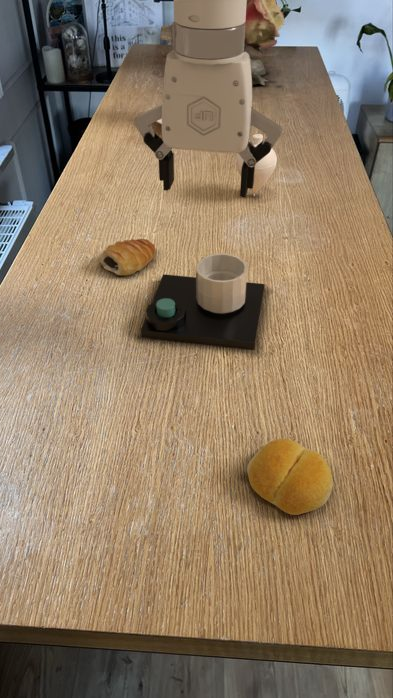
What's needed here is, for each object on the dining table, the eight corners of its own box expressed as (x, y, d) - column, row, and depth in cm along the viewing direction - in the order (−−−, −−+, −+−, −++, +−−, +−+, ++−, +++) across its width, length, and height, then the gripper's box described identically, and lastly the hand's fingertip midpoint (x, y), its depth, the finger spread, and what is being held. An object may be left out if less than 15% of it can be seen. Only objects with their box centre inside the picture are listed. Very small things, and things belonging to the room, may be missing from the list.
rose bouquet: (283, 87, 162) (293, -43, 142) (177, 88, 162) (173, -41, 142) (272, 59, 181) (280, -58, 162) (178, 61, 181) (174, -56, 161)
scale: (141, 337, 83) (139, 321, 81) (163, 281, 93) (162, 265, 91) (254, 350, 81) (255, 333, 79) (264, 291, 91) (265, 275, 89)
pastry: (138, 243, 102) (136, 224, 99) (166, 258, 98) (165, 238, 96) (96, 266, 97) (94, 246, 94) (124, 282, 93) (122, 262, 91)
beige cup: (192, 313, 85) (191, 279, 81) (201, 284, 90) (201, 251, 86) (242, 318, 84) (243, 284, 80) (248, 289, 89) (249, 255, 85)
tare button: (154, 317, 82) (154, 308, 81) (159, 306, 84) (158, 297, 83) (173, 319, 82) (172, 310, 81) (176, 307, 84) (176, 299, 83)
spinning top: (226, 196, 114) (227, 135, 106) (252, 183, 118) (255, 124, 111) (256, 209, 110) (260, 147, 102) (281, 195, 114) (287, 134, 106)
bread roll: (308, 531, 60) (313, 509, 57) (236, 487, 64) (237, 464, 61) (345, 477, 65) (351, 454, 62) (276, 439, 69) (278, 416, 66)
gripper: (121, 45, 61) (132, 196, 72) (288, 55, 59) (272, 209, 70) (139, 27, 67) (146, 171, 78) (292, 36, 64) (277, 182, 76)
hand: (206, 189), depth 74 cm, fingers open, 9 cm apart
